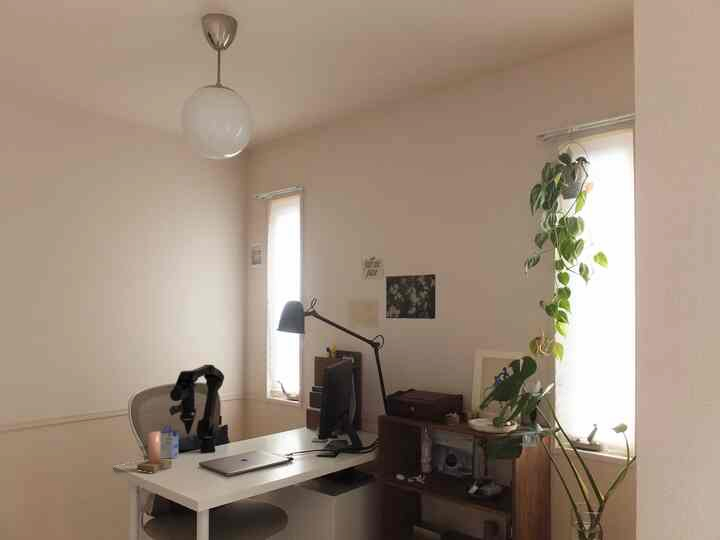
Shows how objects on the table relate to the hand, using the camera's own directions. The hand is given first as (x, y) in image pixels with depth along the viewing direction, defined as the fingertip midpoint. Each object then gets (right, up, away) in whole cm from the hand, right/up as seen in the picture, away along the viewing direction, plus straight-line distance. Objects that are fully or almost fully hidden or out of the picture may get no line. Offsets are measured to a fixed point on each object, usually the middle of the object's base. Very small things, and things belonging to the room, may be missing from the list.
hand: (188, 432), depth 258 cm
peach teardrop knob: (-11, -9, -14) cm, 20 cm away
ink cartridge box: (-13, -14, +7) cm, 20 cm away
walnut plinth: (-11, -12, -14) cm, 22 cm away
